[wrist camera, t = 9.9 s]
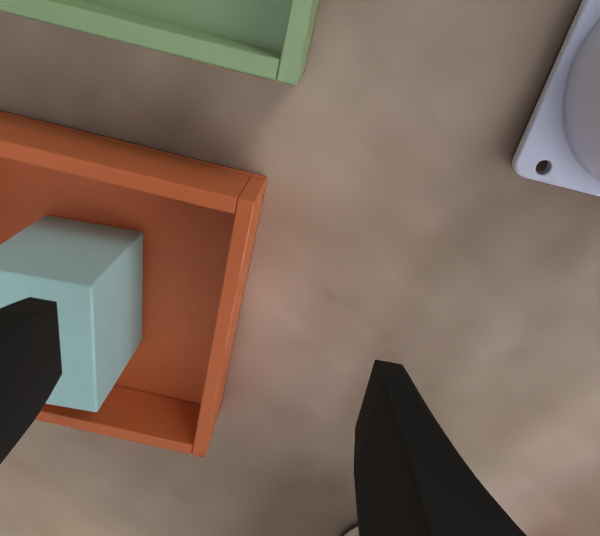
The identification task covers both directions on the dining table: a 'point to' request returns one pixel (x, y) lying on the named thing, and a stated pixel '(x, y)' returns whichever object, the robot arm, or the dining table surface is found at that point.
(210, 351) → the terracotta tote
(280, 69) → the sage tote
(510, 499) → the dining table surface
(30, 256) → the light blue box
